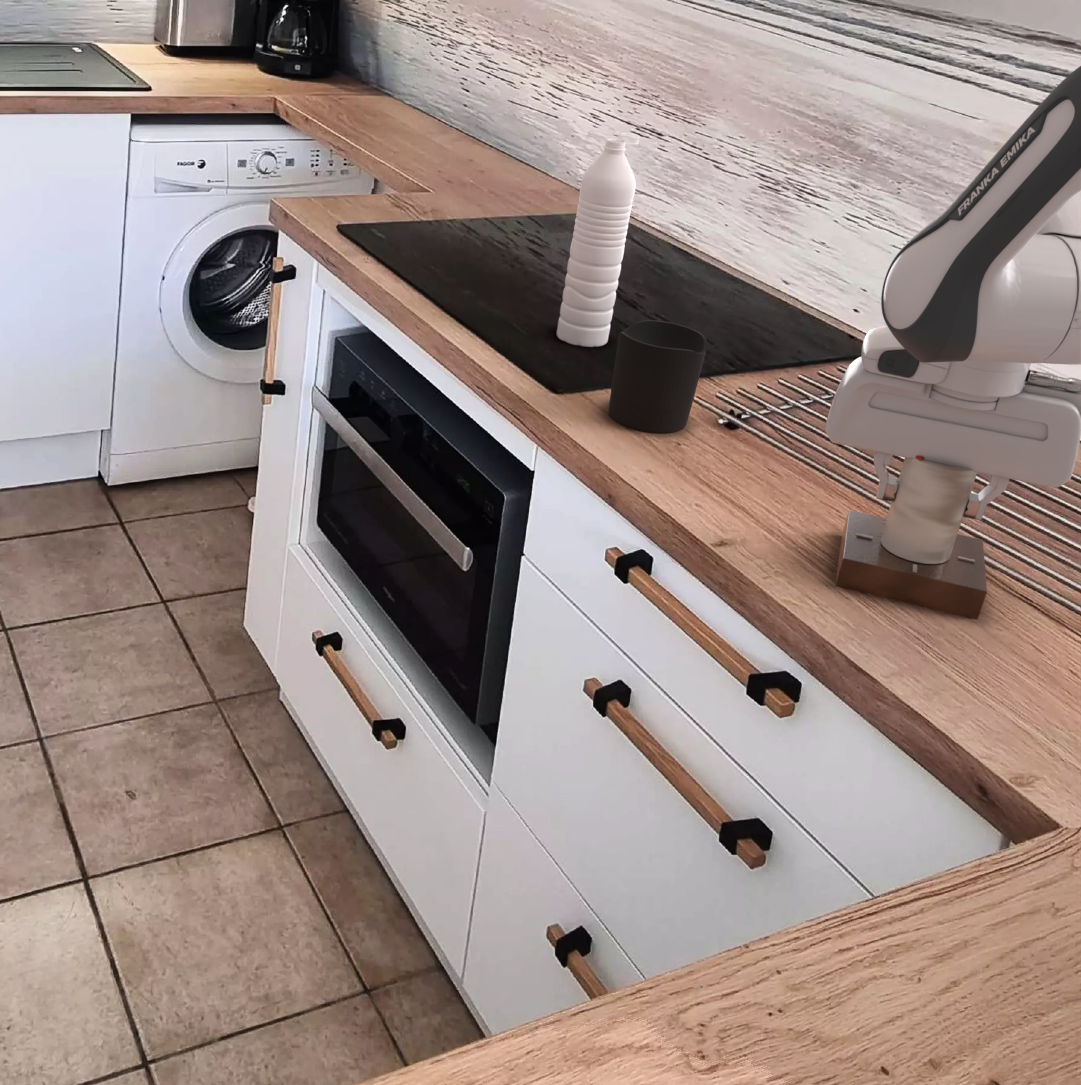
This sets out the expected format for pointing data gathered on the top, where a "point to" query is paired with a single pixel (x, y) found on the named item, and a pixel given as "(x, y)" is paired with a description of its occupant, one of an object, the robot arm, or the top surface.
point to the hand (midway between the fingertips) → (926, 507)
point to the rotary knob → (927, 510)
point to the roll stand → (911, 570)
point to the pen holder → (656, 375)
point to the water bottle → (598, 246)
